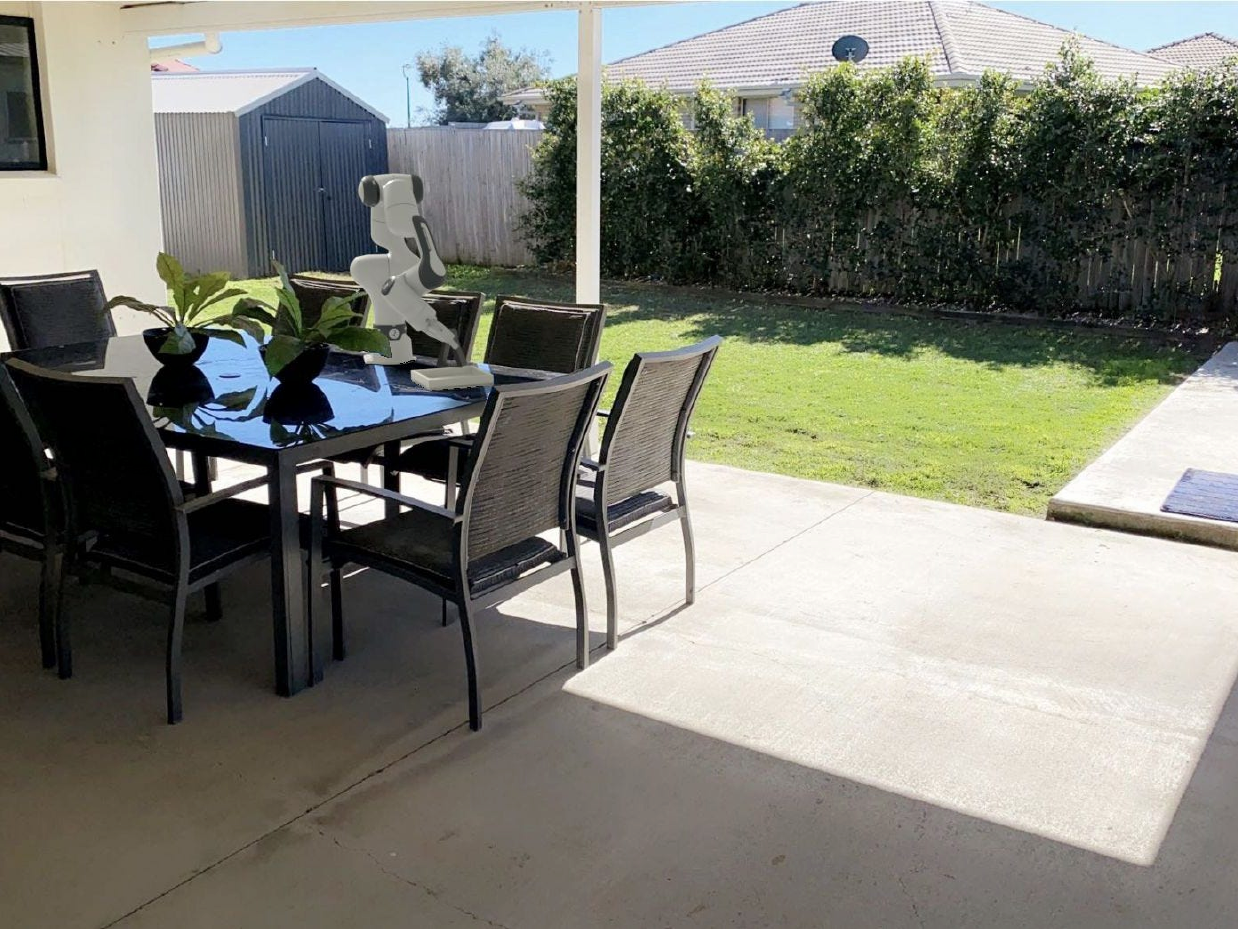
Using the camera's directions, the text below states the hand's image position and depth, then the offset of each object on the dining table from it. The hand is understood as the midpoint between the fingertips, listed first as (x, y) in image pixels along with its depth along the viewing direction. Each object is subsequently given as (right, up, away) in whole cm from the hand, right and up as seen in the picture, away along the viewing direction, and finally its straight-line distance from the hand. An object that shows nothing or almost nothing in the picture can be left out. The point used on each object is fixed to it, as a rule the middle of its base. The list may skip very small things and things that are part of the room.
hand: (452, 345), depth 382 cm
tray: (-1, -12, +3) cm, 12 cm away
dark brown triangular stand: (0, -7, +1) cm, 7 cm away
